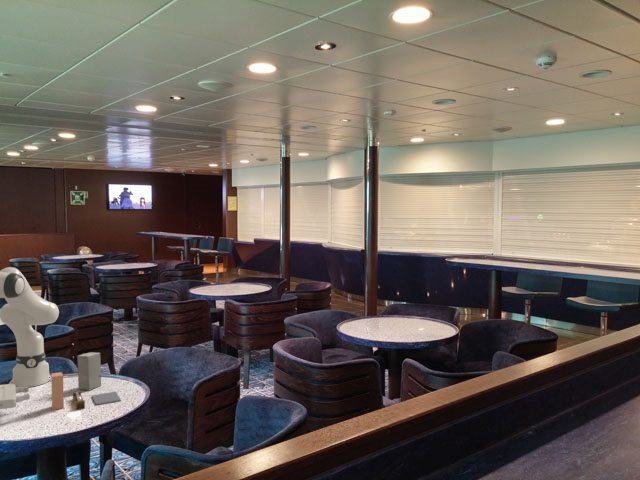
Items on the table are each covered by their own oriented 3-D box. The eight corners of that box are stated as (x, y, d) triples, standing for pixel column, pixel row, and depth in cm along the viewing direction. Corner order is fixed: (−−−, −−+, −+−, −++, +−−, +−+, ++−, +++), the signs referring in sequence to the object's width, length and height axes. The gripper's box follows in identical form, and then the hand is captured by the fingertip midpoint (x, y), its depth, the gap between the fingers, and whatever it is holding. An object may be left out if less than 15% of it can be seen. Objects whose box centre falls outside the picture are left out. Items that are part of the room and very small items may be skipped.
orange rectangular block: (51, 406, 218) (51, 373, 217) (62, 404, 220) (61, 372, 219) (52, 410, 214) (52, 376, 213) (63, 408, 216) (63, 375, 215)
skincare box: (89, 391, 236) (88, 357, 236) (76, 389, 239) (76, 355, 238) (102, 385, 244) (101, 352, 244) (90, 383, 247) (89, 350, 246)
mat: (91, 396, 229) (91, 395, 229) (115, 392, 234) (115, 391, 234) (95, 405, 219) (95, 404, 219) (120, 401, 224) (120, 399, 224)
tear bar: (72, 399, 226) (72, 391, 226) (80, 397, 228) (80, 390, 227) (76, 409, 214) (76, 401, 214) (84, 408, 216) (84, 400, 216)
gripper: (-13, 399, 195) (29, 393, 202) (-11, 384, 212) (27, 378, 219) (-12, 415, 195) (30, 408, 202) (-11, 399, 213) (28, 393, 220)
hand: (29, 392), depth 211 cm, fingers open, 8 cm apart
